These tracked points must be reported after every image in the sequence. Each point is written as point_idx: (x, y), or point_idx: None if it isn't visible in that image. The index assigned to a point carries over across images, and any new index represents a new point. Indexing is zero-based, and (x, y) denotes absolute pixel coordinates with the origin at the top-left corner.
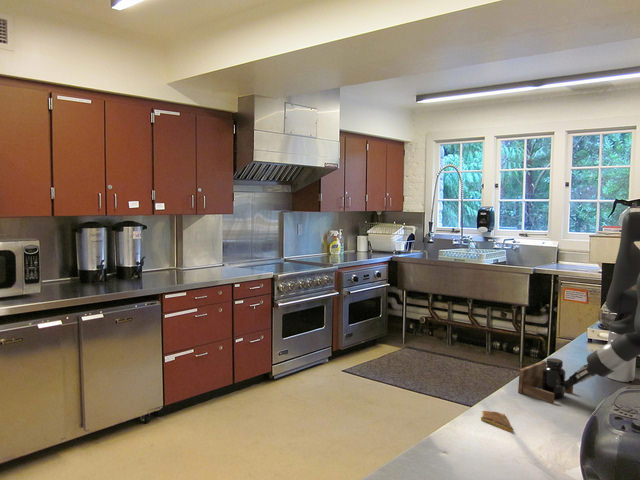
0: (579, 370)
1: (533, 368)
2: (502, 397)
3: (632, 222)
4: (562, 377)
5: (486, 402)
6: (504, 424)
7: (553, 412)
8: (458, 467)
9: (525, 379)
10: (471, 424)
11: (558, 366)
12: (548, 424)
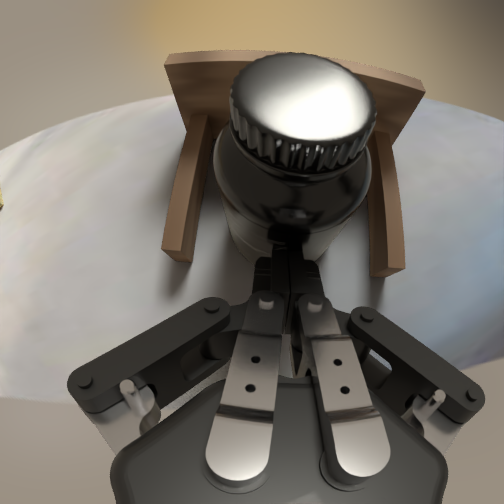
0: (223, 395)
1: None
2: (113, 125)
3: None
4: (264, 234)
5: (58, 129)
6: None
7: (89, 301)
8: None
9: (206, 100)
10: None
11: (260, 157)
12: (12, 317)
